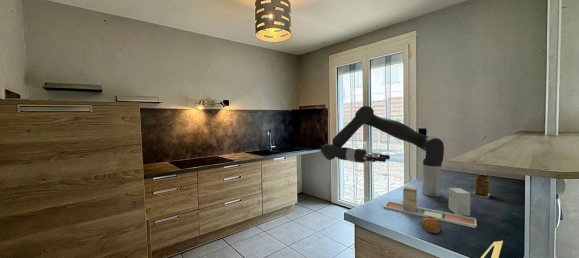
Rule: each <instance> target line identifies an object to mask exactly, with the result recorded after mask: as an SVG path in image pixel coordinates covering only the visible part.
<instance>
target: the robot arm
mask: <svg viewBox="0 0 579 258" xmlns="http://www.w3.org/2000/svg"><path fill="white" fill-rule="evenodd" d="M363 125H366V126H368V127H369V126H370V127H372V128H375V129H377V130H378V131H381V132H383V133H385V134H386V135H389V136H392V137H394V138H396V139H398V140H400V141H403V142H407V143H410V144H412V145H414V146H416V147H418V148H419V149H421V150H422V151H424V152H425V157H424V159H423V160H422V188H421V189H422V190H421V191H422V194H423V195H425V196H429V197H436V198H437V197H441V196H442V168H443V167H442V165H443V161H444V155H445V145H444V141H442V140H441V139H440V138H439V137H434V136H433V137H432V136H427V135H425V134H422V133H420V132H418V131H415V130H414V129H413V128H411V127H410V126H408V125H406V124H405V123H402V122H400V121H398V120H395V119H391V118H385V117H381V116H378V115H376V114H375V112H374V109H373V107H371V106H370V105H364V106H361V107H360V108H359V109H358V110H357V111H356V112H355V115H354V117H353V118H352V119H351V120H350V121H349V123H348V124H347V125H345V126H344V127H343V128H342V129H341V130H340V131H339V132H338V133H337V134H336V135H335V136H334V137H333V138H332V144H331V143H326V144H323V145H322V146H321V148H320V152H321V154H322V155H323V157H324V158H325V159H327V160H329V161H331V160H333V159H335V158H337V159H339V160H341V161H347V162H348V161H349V162H354V163H360V164H364V163H366V162H370V163H374V162H379V163H380V162H381V163H386V161H389V160H390V158H391V156H390V154H383V153H381V152H373V151H372V152H368V153H367V150H366V149H365V148H358V147H357V148H356V147H344V145H345V144H346V143H348V141H349V140H350V139H351V138H352V137H353V136H354V135H355V133H356V132H357V131H358V130H359V129H360V128H361V127H362V126H363Z"/></svg>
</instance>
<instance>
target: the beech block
mask: <svg viewBox="0 0 579 258" xmlns="http://www.w3.org/2000/svg"><path fill="white" fill-rule="evenodd" d="M402 190H403V194H402V195H403V197H402V201H403V202H402V204H403V206H402V207H403V208H402V210H406V211H411V212H416V213H417V209H416V208H417V207H418V206H417V198H418V196H417V194H418V189H417V187H414V186H408V185H405V186H404V187H403V189H402Z"/></svg>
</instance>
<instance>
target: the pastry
mask: <svg viewBox="0 0 579 258" xmlns="http://www.w3.org/2000/svg"><path fill="white" fill-rule="evenodd" d="M420 224H421V226H422V227H423V229H424V230H425V231H426V232H428V233H434V234H438V233H440V231H441V229H442V225H441V222H440V220H437V219H435V218H434V217H432V216H427V217H422V219H421V222H420Z"/></svg>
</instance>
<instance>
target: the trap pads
mask: <svg viewBox="0 0 579 258" xmlns="http://www.w3.org/2000/svg"><path fill="white" fill-rule="evenodd" d="M387 207H392V208H397V209H401V210H402V207H403V206H400V205H395V204H390V203H389V204H388V205H387ZM444 219H449V220H453V221H458V222H463V223H468V224H472V225H475V224H474V220H469V219H464V218H460V217H455V216H450V215H444Z"/></svg>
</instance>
